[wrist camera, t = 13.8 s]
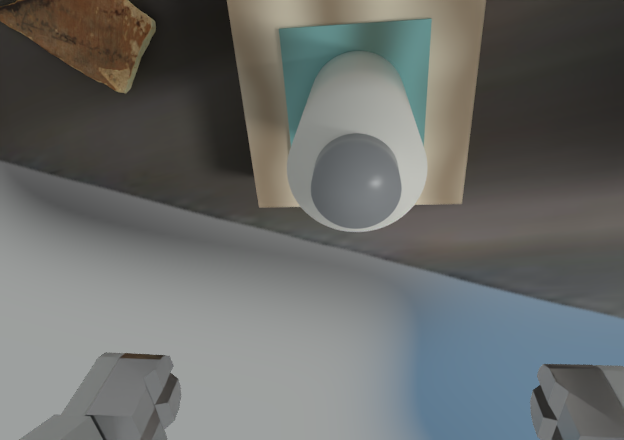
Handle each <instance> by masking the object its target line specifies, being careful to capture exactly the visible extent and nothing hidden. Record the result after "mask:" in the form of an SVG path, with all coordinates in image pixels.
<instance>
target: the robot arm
mask: <svg viewBox="0 0 624 440" xmlns="http://www.w3.org/2000/svg"><path fill="white" fill-rule="evenodd" d="M172 368H173V364H172V361H171V358H170V356H166V355H149V354H130V353H104V354H103V355H101V356H100V357H99V358H98V359H97V360H96V362H95V364H94V365H93V366H92V368H91V370H90V371H89V373H88V374H87V376H86V377H85V379H84V380H83V382H82V383H81V385H80V386H79V388H78V389H77V391H76V392H75V394H74V396H73V397H72V399H71V400H70V402H69V403H68V405H67V406H66V408H65V409H64V411H63V412H62V414H61V415H53V416H52V417H51V418H50V419H48V420H46V421H45V422H44V423H42V424H41V425H39V426H38V427H37V428H35V429H34V430H32V431H31V432H30V433H28V434H27V435H25V436H24V437H23V438H21V439H19V440H167V436H166V433H165V430H164V429H165V428H166V427H168V426H169V425H170V424H171V423H172V422H173V421H174V420H175V418H176V415H177V413H178V410H179V406H180V400H181V388H180V383H179V380H178V378H176V377H175V376H174V375H173V374H171V370H172ZM537 377H538V380H539V382H540V385H539V386H538V387H537V388H535V389H534V390H533V392H532V396H531V401H530V402H531V416H532V421H533V425H534V428H535V431H536V434H537V437H539V438H540V439H541V440H624V367H623V366H602V365H595V366H593V365H567V364H565V365H564V364H543V365H542V366H541V367H540V368H539V371H538V375H537Z"/></svg>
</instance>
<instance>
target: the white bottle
mask: <svg viewBox="0 0 624 440" xmlns="http://www.w3.org/2000/svg"><path fill="white" fill-rule="evenodd" d="M287 177H288V183H289V186H290V189H291V192H292V194H293V196H294V198H295V199H296V201H297V202H298V204H299V205H300V206H301V208H302V209H303V210H304V211H305V212H306V213H307V214H308V215H310V216H311V217H312V218H314V219H315V220H316V221H318V222H320V223H322V224H324V225H326V226H328V227H331V228H334V229H337V230H342V231H348V232H365V231H371V230H376V229H379V228H382V227H385V226H387V225H390V224H392V223H393V222H395V221H397V220H398V219H400V218H401V217H402V216H404V215H405V214H406V213H407V212H408V211H409V210H410V209H411V208H412V207H413V206H414V205H415V203H416V202H417V200H418V199H419V197H420V195H421V193H422V191H423V189H424V186H425V182H426V178H427V157H426V153H425V149H424V146H423V143H422V140H421V137H420V134H419V131H418V128H417V125H416V122H415V119H414V116H413V113H412V110H411V107H410V104H409V101H408V98H407V95H406V91H405V88H404V85H403V82H402V79H401V77H400V75H399V73H398V72H397V70H396V69H395V68H394V66H393V65H392V64H391V63H390V62H389V61H387V60H386V59H385V58H383V57H381V56H379V55H377V54H375V53H371V52H367V51H351V52H346V53H343V54H341V55H338V56H336V57H335V58H333V59H331V60H330V61H329V62H328V63H326V64H325V65H324V66H323V67H322V69H321V70H320V71H319V73H318V75H317V76H316V78H315V81H314V83H313V86H312V89H311V91H310V94H309V97H308V100H307V103H306V106H305V108H304V111H303V114H302V117H301V120H300V123H299V125H298V128H297V131H296V134H295V137H294V140H293V142H292V145H291V148H290V151H289V155H288V160H287Z"/></svg>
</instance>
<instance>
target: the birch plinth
mask: <svg viewBox="0 0 624 440" xmlns="http://www.w3.org/2000/svg"><path fill="white" fill-rule="evenodd" d="M227 5H228V11H229V18H230V24H231V31H232V37H233V43H234V50H235V56H236V63H237V69H238V75H239V82H240V88H241V95H242V101H243V107H244V114H245V120H246V127H247V133H248V140H249V146H250V152H251V159H252V165H253V172H254V178H255V184H256V191H257V197H258V204H259V207H301V206H300V205H299V204H298V202H297V201H296V199H295V198H294V196H293V194H292V192H291V189H290V186H289V183H288V177H287V160H288V155H289V151H290V148H291V145H292V142H293V140H294V137H295V134H296V131H297V128H298V125H299V123H300V120H301V117H302V114H303V111H304V108H305V106H306V103H307V100H308V97H309V94H310V91H311V89H312V86H313V83H314V81H315V78H316V76H317V75H318V73H319V71H320V70H321V69H322V67H323V66H324V65H325V64H326V63H328V62H329V61H330V60H331V59H333V58H335V57H336V56H338V55H341V54H343V53H346V52H351V51H367V52H371V53H375V54H377V55H379V56H381V57H383V58H385V59H386V60H387V61H389V62H390V63H391V64H392V65H393V66H394V68H395V69H396V70H397V72H398V73H399V75H400V77H401V79H402V82H403V85H404V88H405V91H406V95H407V98H408V101H409V104H410V107H411V110H412V113H413V116H414V119H415V122H416V125H417V128H418V131H419V134H420V137H421V140H422V143H423V146H424V149H425V153H426V157H427V178H426V182H425V186H424V189H423V191H422V193H421V195H420V197H419V199H418V200H417V202H416V203H415V205H430V204H462V198H463V189H464V181H465V173H466V164H467V156H468V148H469V139H470V131H471V123H472V114H473V106H474V98H475V89H476V81H477V72H478V64H479V56H480V47H481V39H482V31H483V22H484V14H485V6H486V0H227Z"/></svg>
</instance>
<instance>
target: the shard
mask: <svg viewBox="0 0 624 440" xmlns="http://www.w3.org/2000/svg"><path fill="white" fill-rule="evenodd" d="M0 21H1V22H2V23H4V24H6V25H7V26H9V27H10V28H12V29H14V30H16V31H18V32H21V33H22V34H24V35H25V36H27V37H28V38H30V39H31V40H33V41H34V42H36V43H37V44H39V45H40V46H41V47H42V48H44V49H45V50H47V51H48V52H49V53H51V54H53V55H55V56H56V57H58V58H60V59H61V60H63V61H64V62H65V63H67V64H68V65H70V66H71V67H73V68H75V69H77V70H79V71H81V72H82V73H84V74H85V75H86V76H89V77H91V78H92V79H94V80H96V81H98V82H101V83H104V84H106V85H107V86H109V87H110V88H112V89H113V90H115V91H117V92H121V93H127V92H128V91H129V90H130V89H131V86H132V83H133V80H134V78H135V75H136V72H137V69H138V66H139V63H140V60H141V57H142V56H143V54H144V52H145V50H146V49H147V47H148V45H149V44H150V40H151V38H152V36H153V35H154V33H155V32H156V22H155V21H154V20H153V19H152V18H150V17H149V16H148V15H147V14H145V13H143V12H142V11H140V10H139V9H138V8H137V7H135V6H134V5H133V4H132V3H130V2H129V1H128V0H17V1H16V2H15V3H11V4H9V5H5V6H2V7H1V6H0Z"/></svg>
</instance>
